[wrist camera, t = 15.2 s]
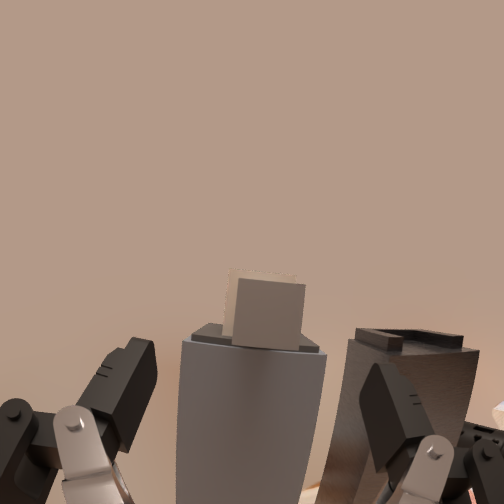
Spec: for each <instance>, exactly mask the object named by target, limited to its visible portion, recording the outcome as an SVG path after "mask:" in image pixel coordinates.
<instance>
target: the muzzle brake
mask: <svg viewBox="0 0 504 504" xmlns="http://www.w3.org/2000/svg"><path fill="white" fill-rule="evenodd" d="M481 439H488V440H491V441H493V442H494V443H495V444H496V445H497V446H498V448H499V450H500V452H501V455H502V457H503V459H504V431H502V430H498V429H493V428H489V427H485V426H481V425H478V424H474V423H470V422H466V421H464V424H463V428H462V431H461V434H460V437H459V440H458V443H457V446H456V447H460V448H471V447H472V446H473V445H474V444H475V443H476V442H477V441H478V440H481Z"/></svg>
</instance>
